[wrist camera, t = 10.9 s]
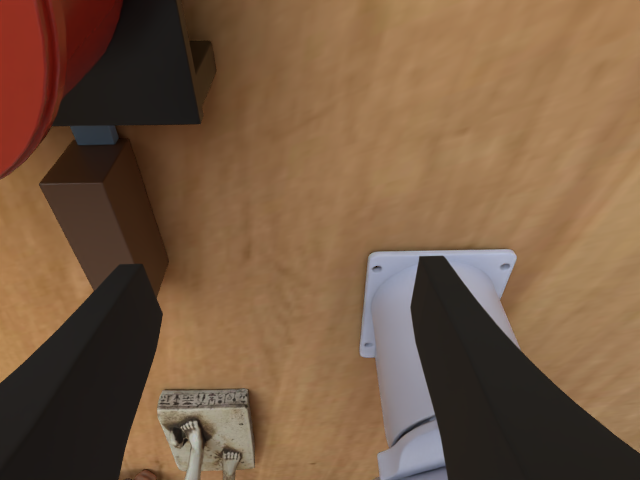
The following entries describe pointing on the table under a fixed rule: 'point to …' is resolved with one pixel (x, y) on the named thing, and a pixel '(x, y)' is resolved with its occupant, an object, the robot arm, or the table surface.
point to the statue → (208, 430)
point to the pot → (95, 69)
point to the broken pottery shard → (144, 476)
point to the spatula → (104, 206)
